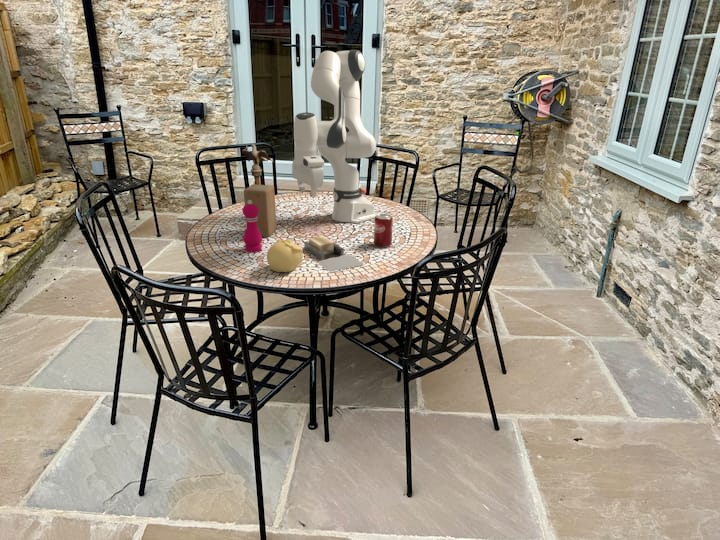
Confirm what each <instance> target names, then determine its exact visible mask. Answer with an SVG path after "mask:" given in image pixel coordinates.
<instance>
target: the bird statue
mask: <svg viewBox="0 0 720 540" xmlns="http://www.w3.org/2000/svg"><path fill="white" fill-rule="evenodd" d="M250 146H251V150H249V147H248V145H246V147H244V149H242V150H241V152H242V154H243V155H244V156H245V157H246V158H247V160H248V162H250V161H252V162H253V164H252V165H251V169H250V172H251V176H252V177H253V179H254V184H257V185H261V180H260V179H261V176H262V171H263V169H262V168H261V167H260V165H259V164H260V162H267V163H268V162H269V161H270V162H272V163H275V162H274V159H273V158H271V157H269V155H268V154H267V152H266V150H264V149H263V150H260V151H258V150H257V148H256V144H255V143H253V142H250Z"/></svg>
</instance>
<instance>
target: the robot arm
mask: <svg viewBox="0 0 720 540" xmlns="http://www.w3.org/2000/svg"><path fill="white" fill-rule="evenodd" d="M365 70H366V59H365V57H364V54H363V53H362V51H360V50H359V49H358V50H357V49H350V50H339V51H336V52H334V51H331V50H324V51H323V52H321V53H319V55H318V57H317V59H316V60H315V62H314V66H313V70H312V74H311V78H310V88H311V89H312V92H313V94H314V95H315V96H316V97H317V98H318V99H320V100H322V101H325V102H327V103H330V104H332V105H333V108H334V109H333V113H334V114H333V119H332V120H317V117H316V114H315V113H313V112H300V113H298V114H296V115H295V117H294V123H293V140H294V153H293V154H294V159H293V160H292V164H291V165H292V167H291V168H292V169H291V174H292V178H293V179H294V180H296V181H297V185H298V190H299V192H300V193H304V192H306V187H305V185H307V186H309V187H310V191H309V197H311V198H316V197H317V191H318V188H322V187H323V185H324V175H325V174H324V168H323V167H324V166H325V161H324V159H323V158H325V159H326V160H327V161H328V162H329V164H330V165H331V168H332V170H333V171H332V172H333V176H334V177H333V179H334V188H333V200H334V201H333V210H332V214H331V219H332V220H333V221H336V222H339V223H351V224H360V223H362V222H366V221H369V220H372V219H375V216H376V215H378V214H379V213H378V212H377V211H375V209H374V205H373V203H372V202H371V201H370V200H369V199H367V198H366V197H365V196H364V195H363V194H366V193H367V190H366V189H364V188H361V187H360V186H359V185H360V181H359V180H360V179H359V178H360V173H359V170H358V169H357V168H356V167H354V165H351V164H349V163H348V162H347V161H346V159H365V158H370V157H372V156H373V155H374V154H375V152H376V149H377V142H376V138H375V137H374V135H373V134H371V133H370V132H368V130H367V129H366V128H365V126H364V124H363V122H362V117H361V89H360V83H359V80H360V79H361V77H362V76H363V74H364V71H365ZM346 128H347V129H348V132H347V130H346ZM319 153H320V154H321V156H322V157H323V158H322V157H321V156H320V154H319ZM304 184H305V185H304Z"/></svg>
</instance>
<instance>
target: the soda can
mask: <svg viewBox="0 0 720 540" xmlns="http://www.w3.org/2000/svg"><path fill="white" fill-rule="evenodd" d="M393 220H394V217H393V216H392V215H391V214H387V213H378V215H376V216H375V218H374V227H373V244H374V246H376V247H378V248H388V247H391V246H392V244H393V242H392V241H393V227H394V225H393V224H394V221H393Z"/></svg>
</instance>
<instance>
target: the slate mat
mask: <svg viewBox="0 0 720 540" xmlns="http://www.w3.org/2000/svg"><path fill="white" fill-rule="evenodd" d="M316 263H317V264H318V265H320V266H321V267H322V268H324V269H326V270H327V271H328V272H329V274H333V273H337V272H341V270H342V271H345V269H346V270H349V268H350V269H354V268H358V267H361V266H363V265H364V263H363V262H361V261H360V260H358V259H357V258H355V257H354V256H353V255H351V254H347V255H345V254H344V255H343V256H339V257H334V258H330V259H326V260H320V261H316ZM353 267H354V268H353Z"/></svg>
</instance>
